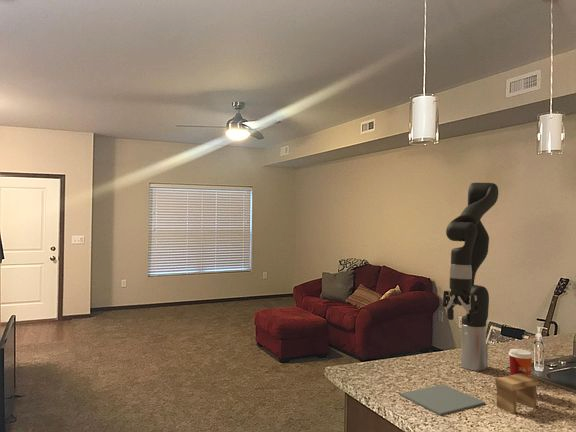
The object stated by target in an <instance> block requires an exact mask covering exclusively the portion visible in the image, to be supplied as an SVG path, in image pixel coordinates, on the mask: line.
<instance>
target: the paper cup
mask: <svg viewBox="0 0 576 432" xmlns="http://www.w3.org/2000/svg"><path fill="white" fill-rule="evenodd" d="M508 355H509V356H508V357H509V358H508V359H509V373H510V374H509V376H510V375H514V374H519V373H522V374H525V375H528V376H531V377H532V364H533V363H532V361H533V358H534V356H533V353H532V352H531V351H530V350H527V349H522V348H521V349H520V348H512V349H511V348H510V350H509V351H508Z"/></svg>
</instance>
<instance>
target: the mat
mask: <svg viewBox="0 0 576 432" xmlns="http://www.w3.org/2000/svg"><path fill="white" fill-rule="evenodd" d="M399 396H401V397H403V398H404V399H406V400H408V401H411V402H412V403H414V404H416V405H418V406H419V407H422V408H423V409H426V410H428V411H430V412H432V413H434V414H436V415H438V416H443V415H446V414H451V413H455V412H459V411H463V410H467V409H470V408H471V409H472V408H475V407H478V406H479V407H480V406H483V405H486V401H484V400H481V399H480V398H477V397H474V396H473V395H472V396H471V395H469V394H468V393H465V392H463V391H460V390H457V389H456V388H454V387H450V386H449V385H446V384H438V385H434V386H429V387H423V388H419V389H418V388H417V389H415V390H414V389H413V390H410V391H409V390H408V391H405V392H400V393H399Z"/></svg>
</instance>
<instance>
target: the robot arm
mask: <svg viewBox="0 0 576 432" xmlns="http://www.w3.org/2000/svg"><path fill="white" fill-rule="evenodd" d="M467 190H468V191H467V206H466V207H465V208H464V209H463V210H462V212H461V213H460V215H458V216H457V217H455V218H454V219H453V220H451V221H450V222H449V223H448V224H447V227H446V230H445V235H446V237H447V238H448V239H449V240H450V241H452V242H464V244H463V246H461V247H460V246H459V247H455V248H452V249H451V251H450V252H451V253H450V266H449V267H450V268H449V289H450V290H444V291H443V293H442V294H443V295H442V307H443V308H446V309H447V310H446V312H447V313H446V316H447V317H446V318H447V320H448V321H452V320H454V315H455V313H454V311H455V309H454V308H455V307H456V306H457V305H458V306H461V307H462V308H463V309H465V313H466V314H465V315H463V316H462V317H461V345H460V346H461V355H460V356H461V359H460V361H461V364H460V367H461V368H463V369H465V370H470V371H475V372H478V371H479V372H480V371H484V370H485V371H486V369H487V368H488V357H489V355H488V350H489V349H488V344H487V321H488V318H489V305H490V304H489V303H490V296H489V291H488V289H487V288H486V287H485V286H484V285H477V284H475V279H476V273H478V270H479V268H480V267H481V266H482V264H483V262H484V261H485V259H486V258H487V256H488V253H489V246H490V236H489V233H488V231H487V230H486V228H485V226H484V224H483V223H482V221H481V219H482V218H483V216H484V215H485V214H486V213H487V212H489V210H491V208H493V207H494V205H496V203H497V201H498V198H499V186H498V185H497V184H496V183H494V182H471V183H470V184H469V187H468V189H467Z"/></svg>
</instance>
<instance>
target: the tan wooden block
mask: <svg viewBox="0 0 576 432" xmlns="http://www.w3.org/2000/svg"><path fill="white" fill-rule="evenodd" d="M538 385H539V384H538V378H536V377H533V376H532V375H531V376H528V375H525V374H522V373H519V374H514V375H510V374H509V375H506V376H501V377H496V378H495V386H496V407H497V408H499V409H501V410H504V411H505V412H508V413H511V414H514V415H515V414H517V403H519V404H522V405H525V406H527V407H530V408H531V409H535V408H537V386H538Z"/></svg>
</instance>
